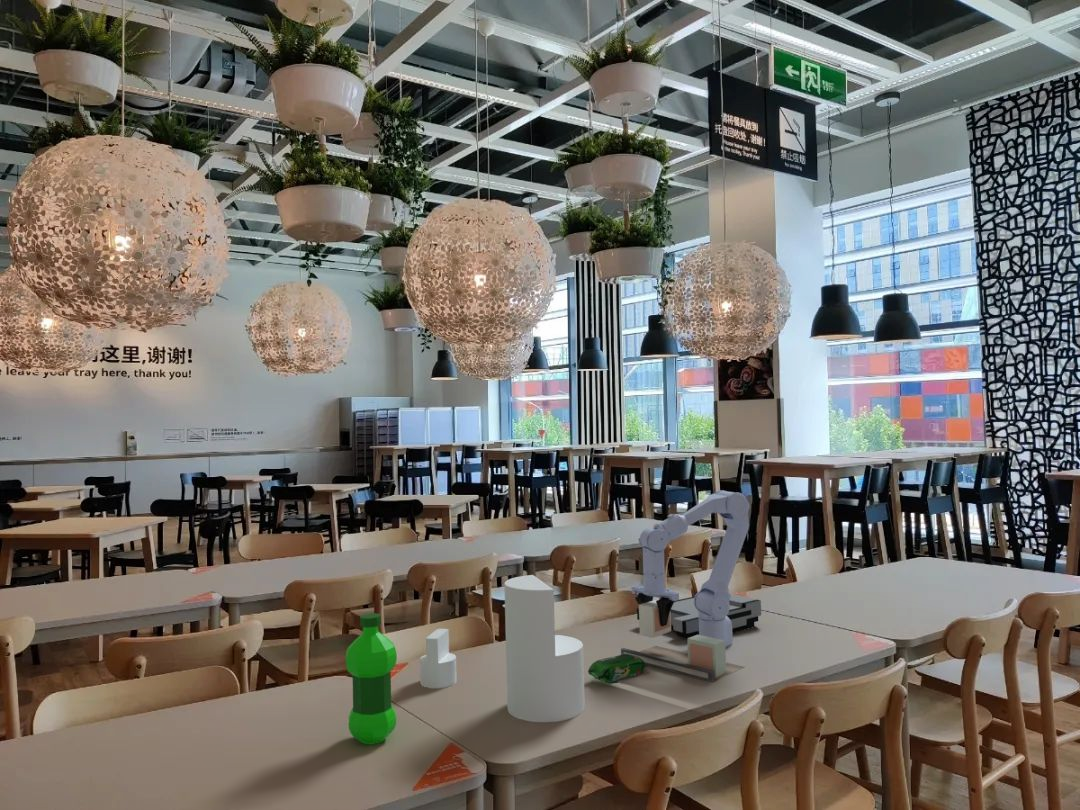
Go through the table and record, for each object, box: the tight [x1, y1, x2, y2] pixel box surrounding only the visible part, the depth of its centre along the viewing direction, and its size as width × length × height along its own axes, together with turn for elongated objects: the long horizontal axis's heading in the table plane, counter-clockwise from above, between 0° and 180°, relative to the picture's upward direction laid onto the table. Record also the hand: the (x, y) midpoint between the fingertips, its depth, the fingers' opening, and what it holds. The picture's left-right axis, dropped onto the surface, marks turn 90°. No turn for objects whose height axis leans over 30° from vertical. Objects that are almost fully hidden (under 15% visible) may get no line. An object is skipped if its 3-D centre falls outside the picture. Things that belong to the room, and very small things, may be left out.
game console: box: [636, 591, 762, 638], centre depth 232 cm, size 21×32×8 cm, turn 124°
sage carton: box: [686, 635, 727, 678], centre depth 189 cm, size 5×8×8 cm, turn 44°
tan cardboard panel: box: [620, 645, 745, 683], centre depth 197 cm, size 15×28×4 cm, turn 44°
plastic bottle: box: [345, 613, 398, 745], centre depth 156 cm, size 10×10×25 cm
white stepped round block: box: [504, 574, 585, 723], centre depth 171 cm, size 17×17×28 cm
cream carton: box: [638, 598, 672, 638], centre depth 206 cm, size 5×8×8 cm, turn 134°
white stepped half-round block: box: [419, 628, 458, 689], centre depth 189 cm, size 9×9×12 cm
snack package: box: [587, 654, 646, 684], centre depth 188 cm, size 7×16×5 cm, turn 123°
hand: (655, 623), depth 206 cm, fingers closed on cream carton, 5 cm apart
